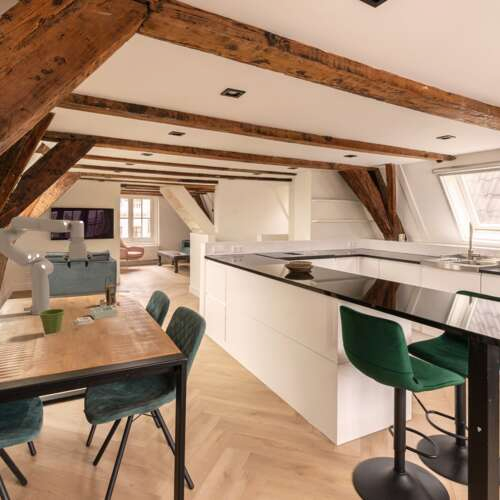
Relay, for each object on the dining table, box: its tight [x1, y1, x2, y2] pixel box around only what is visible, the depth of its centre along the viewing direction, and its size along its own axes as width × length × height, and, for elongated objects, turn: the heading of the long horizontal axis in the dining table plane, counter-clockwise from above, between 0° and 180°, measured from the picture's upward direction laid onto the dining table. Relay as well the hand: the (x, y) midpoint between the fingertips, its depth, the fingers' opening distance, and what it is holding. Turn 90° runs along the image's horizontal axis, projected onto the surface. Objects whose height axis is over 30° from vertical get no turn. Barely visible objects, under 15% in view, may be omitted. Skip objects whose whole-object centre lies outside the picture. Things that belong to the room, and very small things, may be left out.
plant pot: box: [38, 308, 66, 336], centre depth 185 cm, size 12×12×11 cm
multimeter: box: [104, 274, 121, 308], centre depth 247 cm, size 15×10×20 cm
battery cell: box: [99, 298, 107, 311], centre depth 216 cm, size 4×4×10 cm
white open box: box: [89, 305, 117, 320], centre depth 216 cm, size 12×12×5 cm
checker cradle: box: [73, 316, 95, 326], centre depth 203 cm, size 9×9×2 cm
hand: (77, 267), depth 227 cm, fingers open, 9 cm apart
